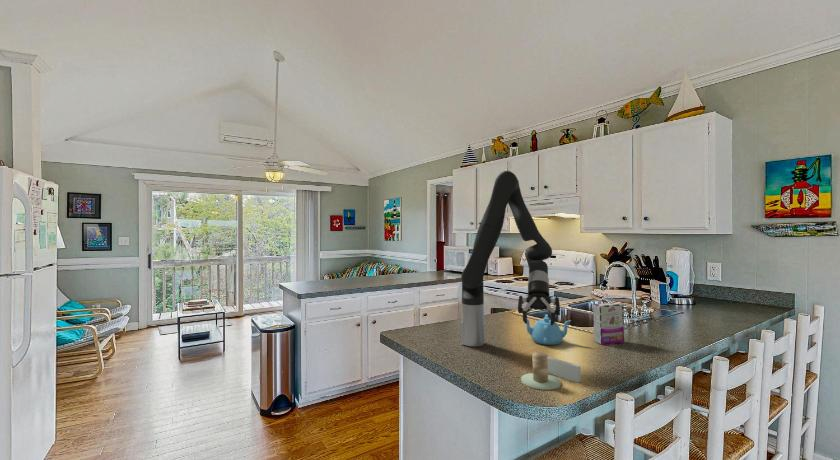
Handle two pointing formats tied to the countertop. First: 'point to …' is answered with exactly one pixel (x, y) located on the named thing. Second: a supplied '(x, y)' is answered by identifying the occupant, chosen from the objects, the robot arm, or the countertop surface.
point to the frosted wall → (564, 369)
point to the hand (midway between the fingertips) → (538, 323)
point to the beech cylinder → (540, 367)
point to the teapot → (547, 331)
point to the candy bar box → (608, 323)
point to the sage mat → (550, 385)
